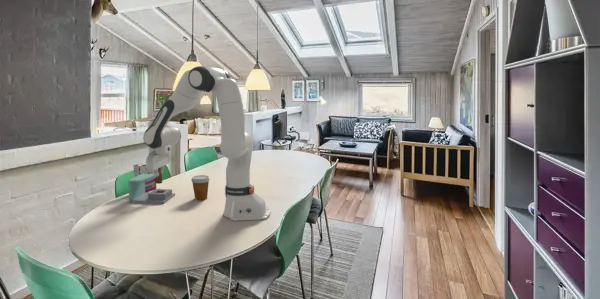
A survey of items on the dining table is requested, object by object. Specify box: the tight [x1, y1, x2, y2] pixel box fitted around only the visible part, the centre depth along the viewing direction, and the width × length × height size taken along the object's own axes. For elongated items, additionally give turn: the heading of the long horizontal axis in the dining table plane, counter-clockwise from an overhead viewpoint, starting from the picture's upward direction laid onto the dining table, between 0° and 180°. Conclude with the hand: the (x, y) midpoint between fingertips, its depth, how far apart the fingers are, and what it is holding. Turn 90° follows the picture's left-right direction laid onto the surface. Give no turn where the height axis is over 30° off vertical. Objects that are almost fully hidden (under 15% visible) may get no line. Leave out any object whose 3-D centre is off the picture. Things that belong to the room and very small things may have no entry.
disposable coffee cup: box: [191, 174, 211, 201], centre depth 174 cm, size 10×10×12 cm
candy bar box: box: [133, 161, 157, 193], centre depth 185 cm, size 11×5×16 cm, turn 159°
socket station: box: [127, 174, 176, 205], centre depth 171 cm, size 18×14×12 cm
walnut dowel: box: [156, 167, 163, 185], centre depth 170 cm, size 3×3×11 cm
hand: (158, 175), depth 170 cm, fingers closed on walnut dowel, 3 cm apart
